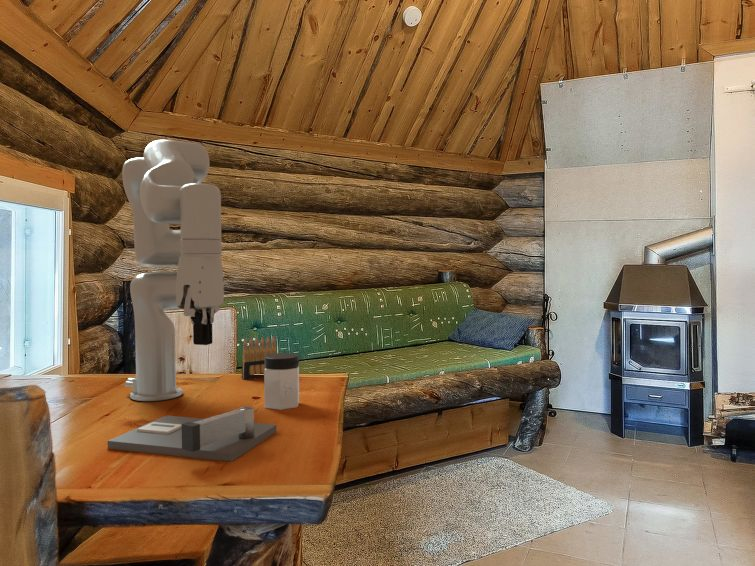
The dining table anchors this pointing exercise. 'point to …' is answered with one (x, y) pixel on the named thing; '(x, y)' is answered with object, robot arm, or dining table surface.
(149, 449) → the label board
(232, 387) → the dining table surface
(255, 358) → the ammunition clip
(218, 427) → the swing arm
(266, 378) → the jar
